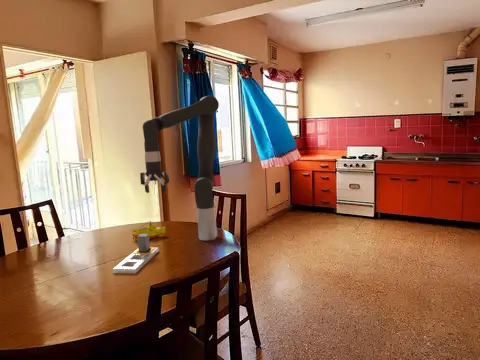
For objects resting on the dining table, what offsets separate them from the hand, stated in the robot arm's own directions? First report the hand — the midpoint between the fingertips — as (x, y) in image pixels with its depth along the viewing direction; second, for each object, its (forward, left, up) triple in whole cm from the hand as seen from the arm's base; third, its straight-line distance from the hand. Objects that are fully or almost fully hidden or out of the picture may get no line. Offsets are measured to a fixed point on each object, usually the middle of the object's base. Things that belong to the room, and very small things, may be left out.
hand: (155, 192), depth 175 cm
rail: (+3, +21, -28) cm, 35 cm away
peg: (+3, +13, -28) cm, 31 cm away
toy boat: (+11, -12, -28) cm, 33 cm away
